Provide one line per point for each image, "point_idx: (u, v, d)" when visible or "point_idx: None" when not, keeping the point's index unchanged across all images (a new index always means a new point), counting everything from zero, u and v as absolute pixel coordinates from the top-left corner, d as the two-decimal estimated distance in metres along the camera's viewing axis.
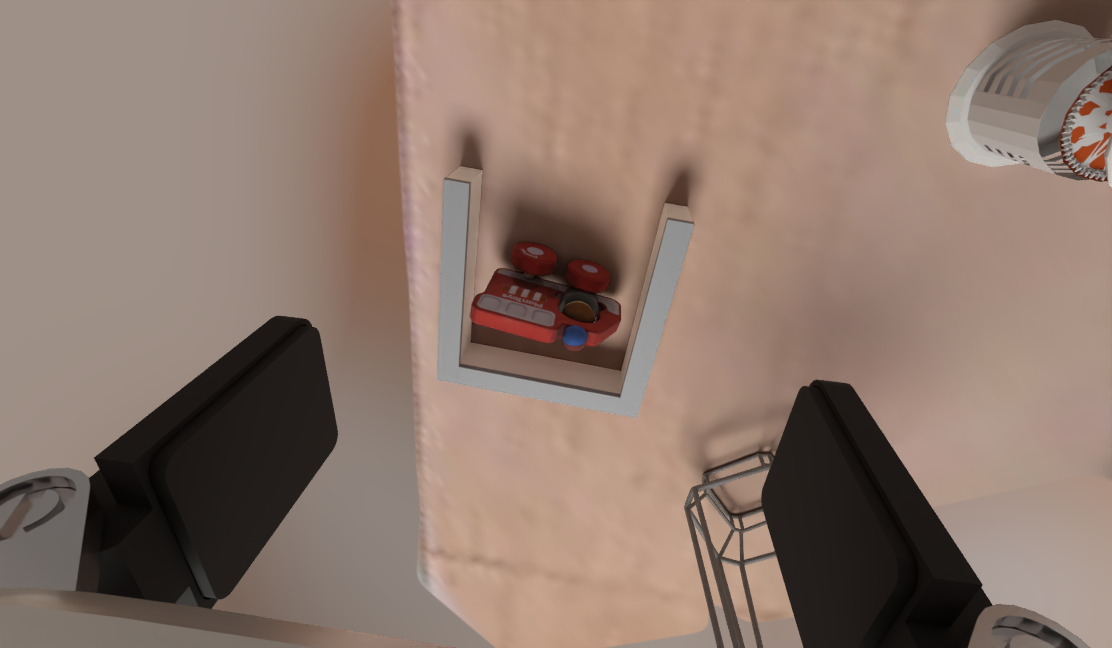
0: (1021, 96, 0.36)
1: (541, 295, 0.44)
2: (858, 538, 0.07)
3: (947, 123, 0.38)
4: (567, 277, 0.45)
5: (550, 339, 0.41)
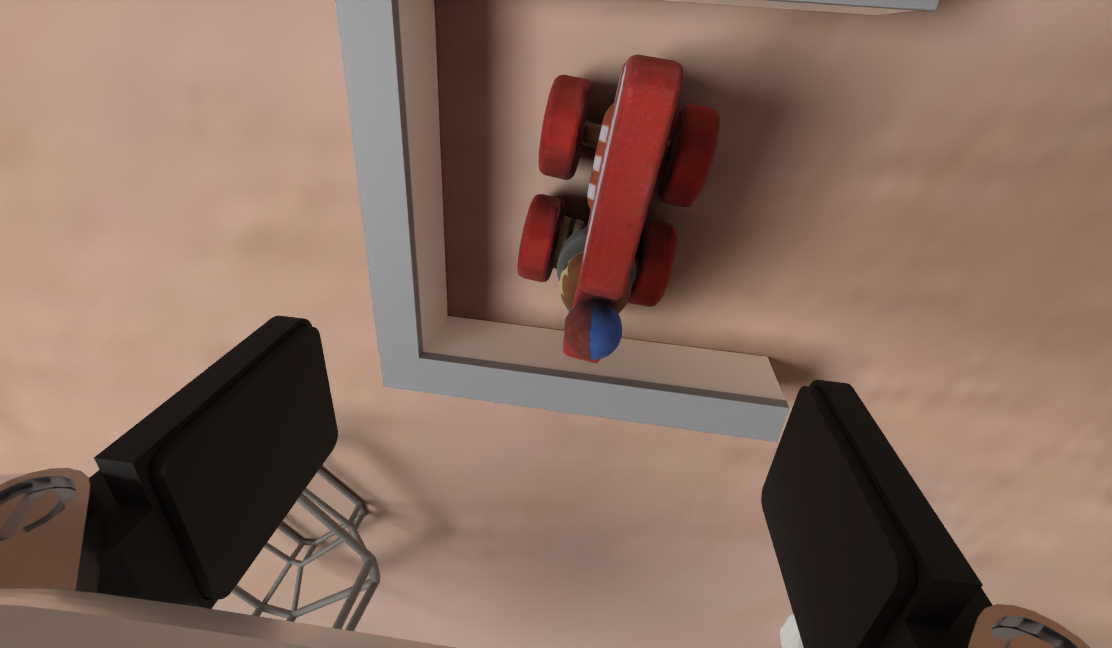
0: None
1: None
2: (858, 538, 0.07)
3: None
4: (656, 235, 0.23)
5: (594, 289, 0.17)
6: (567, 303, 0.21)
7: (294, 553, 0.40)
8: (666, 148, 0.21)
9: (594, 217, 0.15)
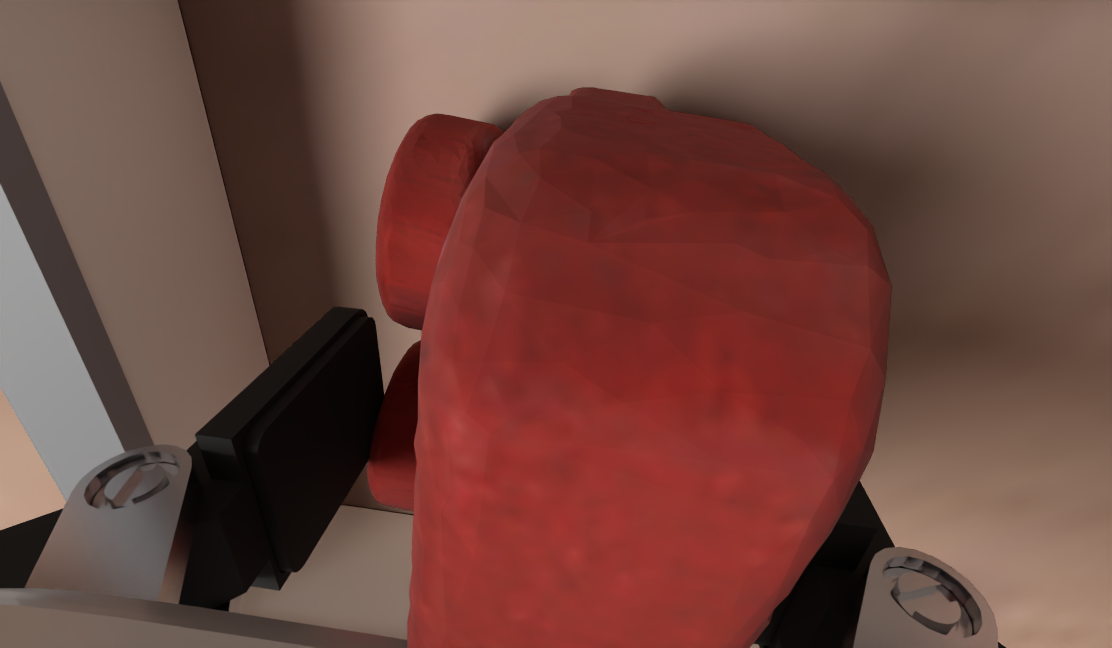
0: None
1: None
2: None
3: None
4: None
5: None
6: None
7: None
8: None
9: None
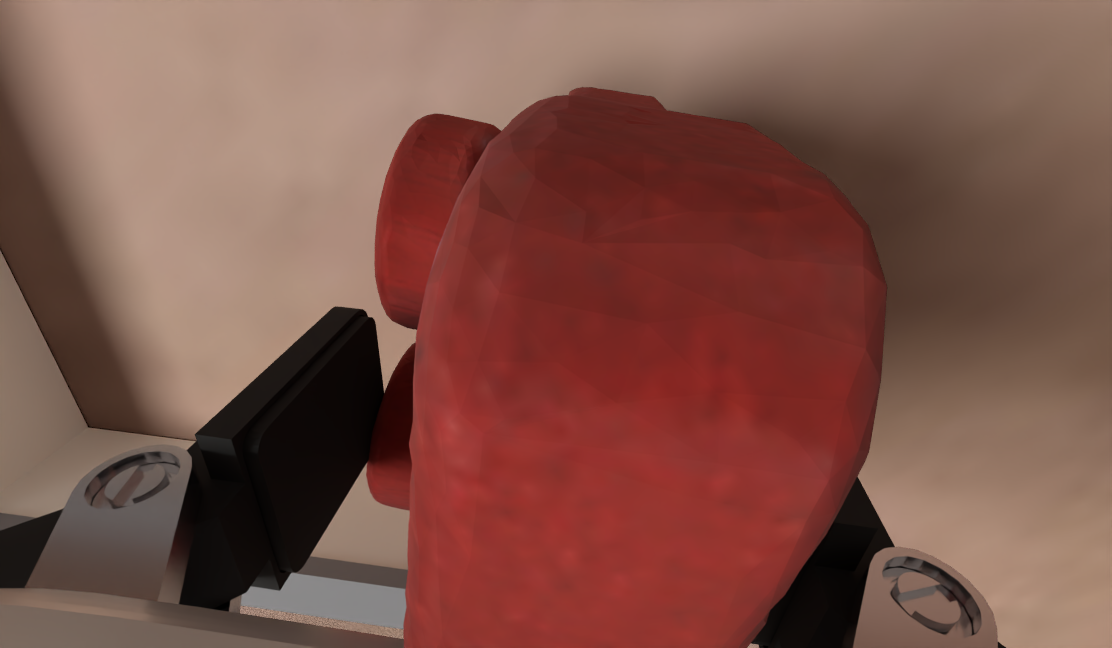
0: None
1: None
2: None
3: None
4: None
5: None
6: None
7: None
8: None
9: None
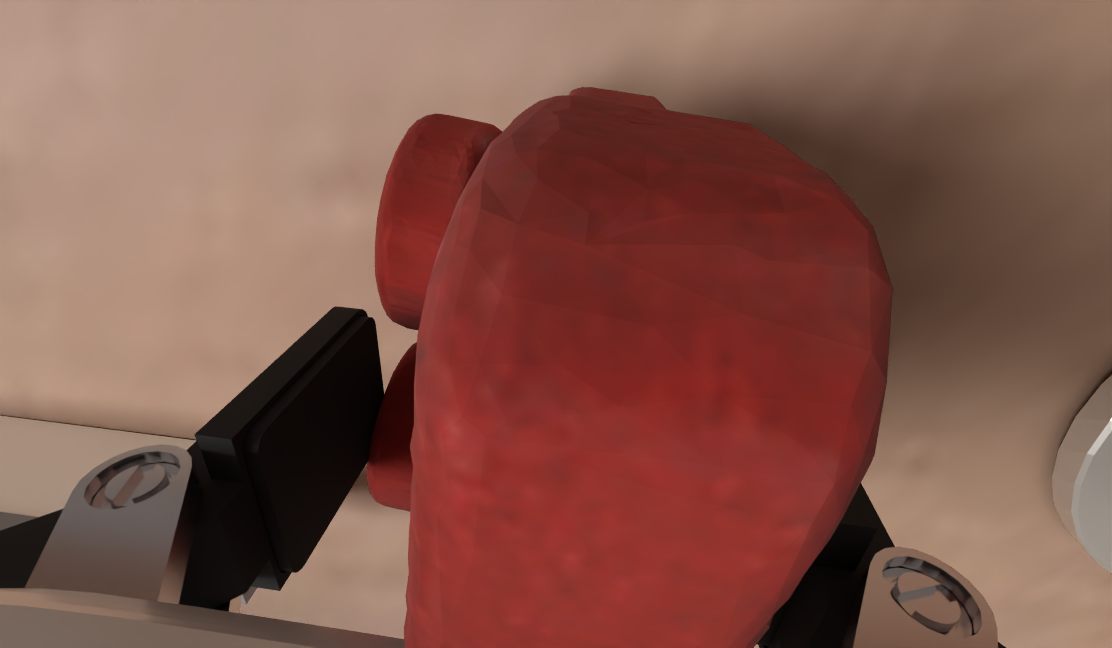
0: None
1: None
2: None
3: None
4: None
5: None
6: None
7: None
8: None
9: None
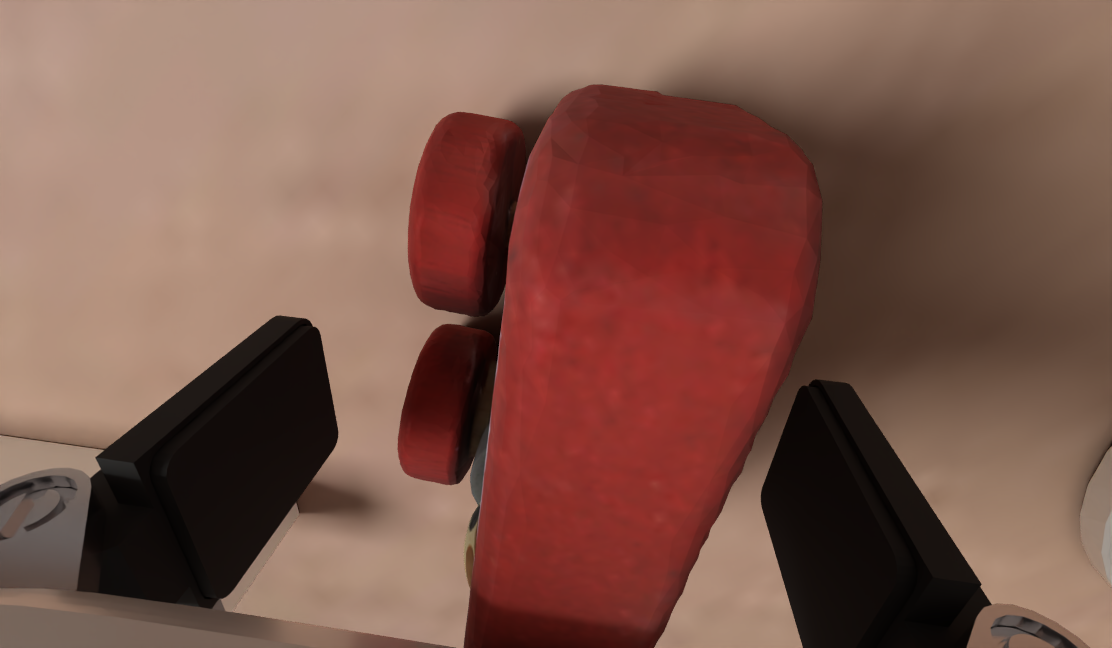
0: None
1: None
2: (857, 538, 0.07)
3: None
4: None
5: None
6: None
7: None
8: None
9: None
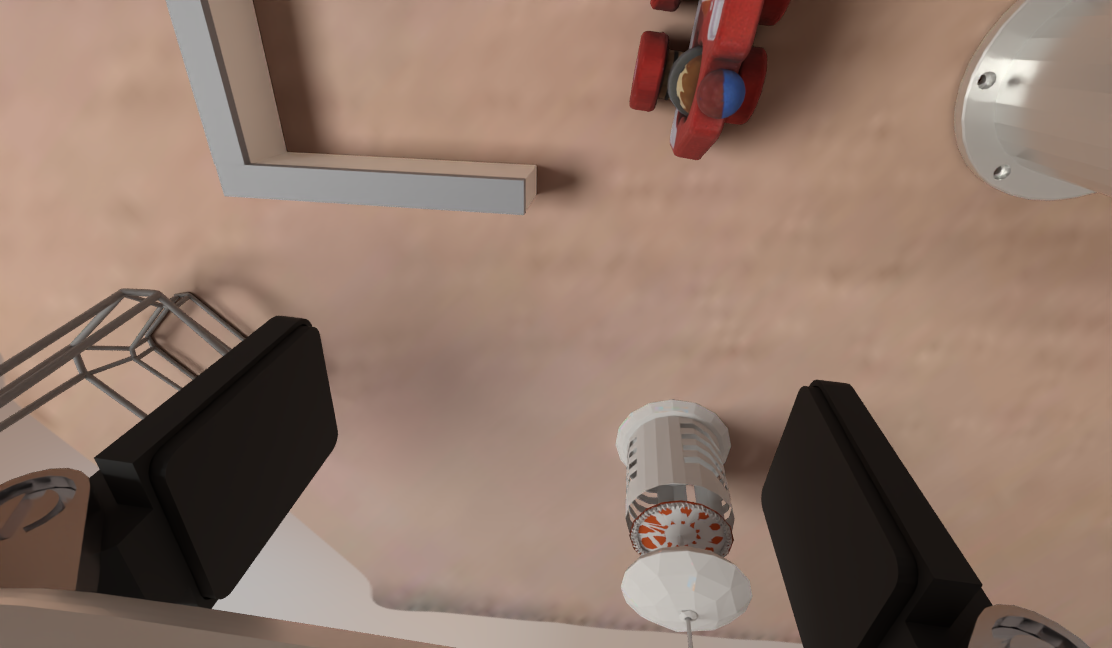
0: None
1: None
2: (858, 538, 0.07)
3: (649, 404, 0.43)
4: (750, 51, 0.27)
5: (727, 46, 0.21)
6: (687, 97, 0.25)
7: None
8: None
9: None
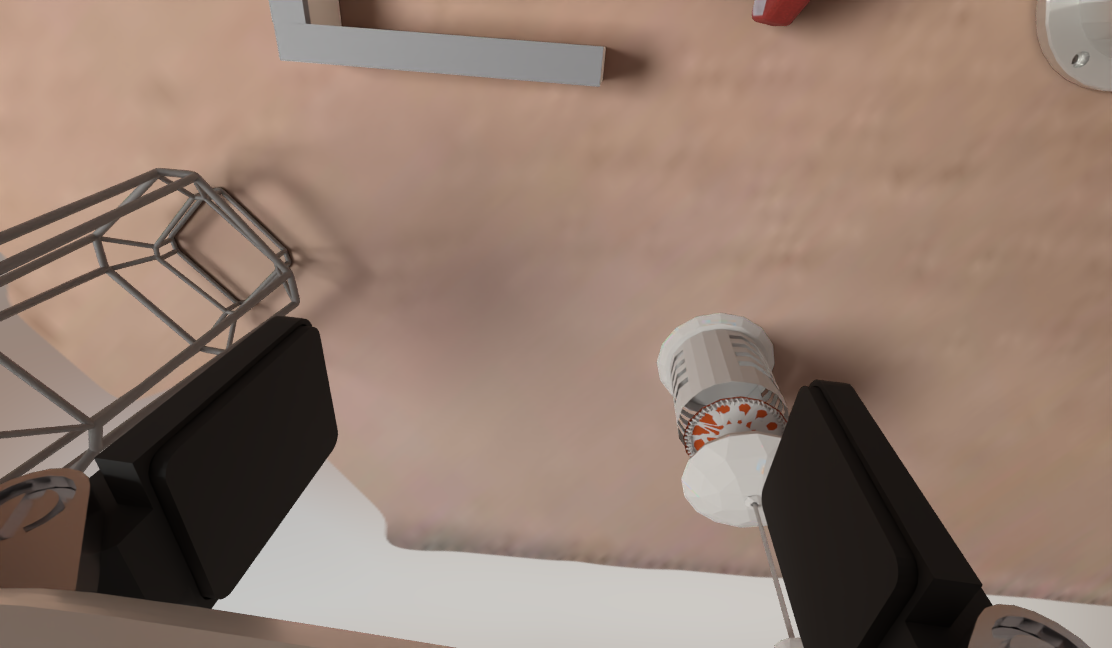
0: None
1: None
2: (858, 538, 0.07)
3: (696, 318, 0.42)
4: None
5: None
6: None
7: (229, 306, 0.45)
8: None
9: None
